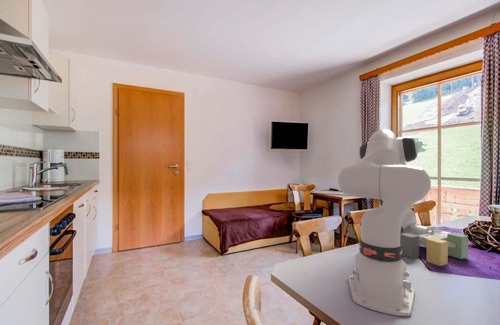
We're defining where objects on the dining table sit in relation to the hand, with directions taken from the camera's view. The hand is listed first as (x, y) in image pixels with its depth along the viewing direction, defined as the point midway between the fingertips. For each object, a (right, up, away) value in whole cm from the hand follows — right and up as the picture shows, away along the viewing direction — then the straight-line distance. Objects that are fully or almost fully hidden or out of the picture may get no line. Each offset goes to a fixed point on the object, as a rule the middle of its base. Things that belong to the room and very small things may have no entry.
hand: (459, 244), depth 101 cm
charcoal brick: (-20, -6, +2) cm, 21 cm away
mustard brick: (-13, -6, -5) cm, 15 cm away
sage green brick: (0, -5, +1) cm, 5 cm away
